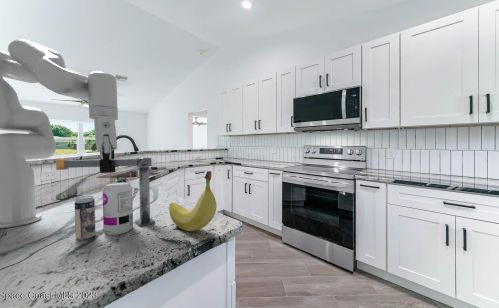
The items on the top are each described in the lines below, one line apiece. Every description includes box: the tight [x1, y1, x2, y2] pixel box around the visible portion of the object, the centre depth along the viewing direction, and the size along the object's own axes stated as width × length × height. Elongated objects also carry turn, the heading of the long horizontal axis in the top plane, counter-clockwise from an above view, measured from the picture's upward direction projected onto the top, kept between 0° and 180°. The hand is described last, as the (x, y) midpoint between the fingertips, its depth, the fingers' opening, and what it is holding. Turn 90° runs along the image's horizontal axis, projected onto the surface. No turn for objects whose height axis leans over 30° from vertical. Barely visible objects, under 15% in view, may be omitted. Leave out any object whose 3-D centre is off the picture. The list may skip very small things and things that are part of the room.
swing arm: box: [55, 157, 153, 171], centre depth 73 cm, size 27×5×3 cm, turn 111°
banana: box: [168, 170, 217, 232], centre depth 71 cm, size 23×6×20 cm, turn 50°
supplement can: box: [102, 181, 134, 236], centre depth 71 cm, size 8×8×15 cm
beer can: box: [74, 195, 97, 241], centre depth 66 cm, size 5×5×12 cm
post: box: [134, 166, 156, 227], centre depth 78 cm, size 5×5×20 cm
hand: (106, 172), depth 70 cm, fingers closed
